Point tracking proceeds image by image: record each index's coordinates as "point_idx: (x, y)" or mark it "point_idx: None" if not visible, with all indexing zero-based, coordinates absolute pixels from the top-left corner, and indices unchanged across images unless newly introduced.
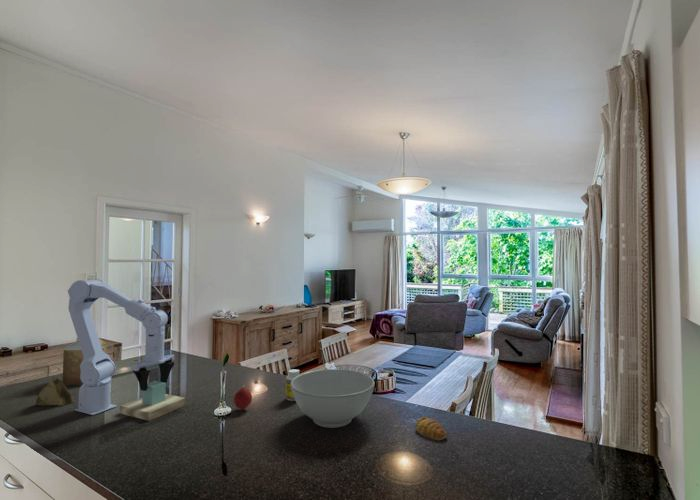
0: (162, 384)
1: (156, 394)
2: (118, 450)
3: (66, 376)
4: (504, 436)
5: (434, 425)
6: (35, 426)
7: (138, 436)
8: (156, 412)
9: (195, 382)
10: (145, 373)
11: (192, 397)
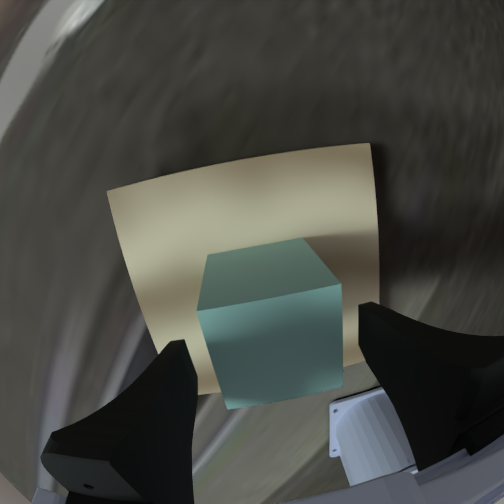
0: (233, 301)
1: (284, 263)
2: (487, 43)
3: None
4: None
5: None
6: None
7: (435, 55)
8: (321, 147)
9: (19, 394)
10: (500, 344)
11: (56, 263)
